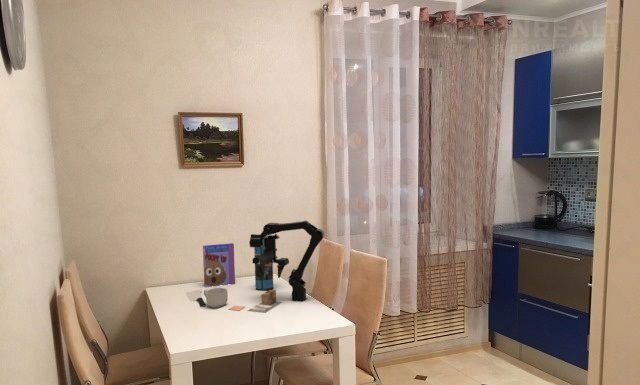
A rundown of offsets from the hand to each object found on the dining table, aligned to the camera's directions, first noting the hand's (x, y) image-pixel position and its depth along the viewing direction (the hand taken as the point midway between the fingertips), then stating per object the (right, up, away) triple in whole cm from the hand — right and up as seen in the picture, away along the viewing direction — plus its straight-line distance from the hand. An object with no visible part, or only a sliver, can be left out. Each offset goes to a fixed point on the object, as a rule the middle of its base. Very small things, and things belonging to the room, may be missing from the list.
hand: (271, 277), depth 231 cm
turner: (-1, -12, -11) cm, 16 cm away
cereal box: (-34, -11, +34) cm, 50 cm away
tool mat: (-2, -13, -12) cm, 17 cm away
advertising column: (-6, -11, +22) cm, 25 cm away
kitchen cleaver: (-41, -13, +5) cm, 43 cm away
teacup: (-27, -13, -6) cm, 31 cm away
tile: (-14, -13, -11) cm, 22 cm away
